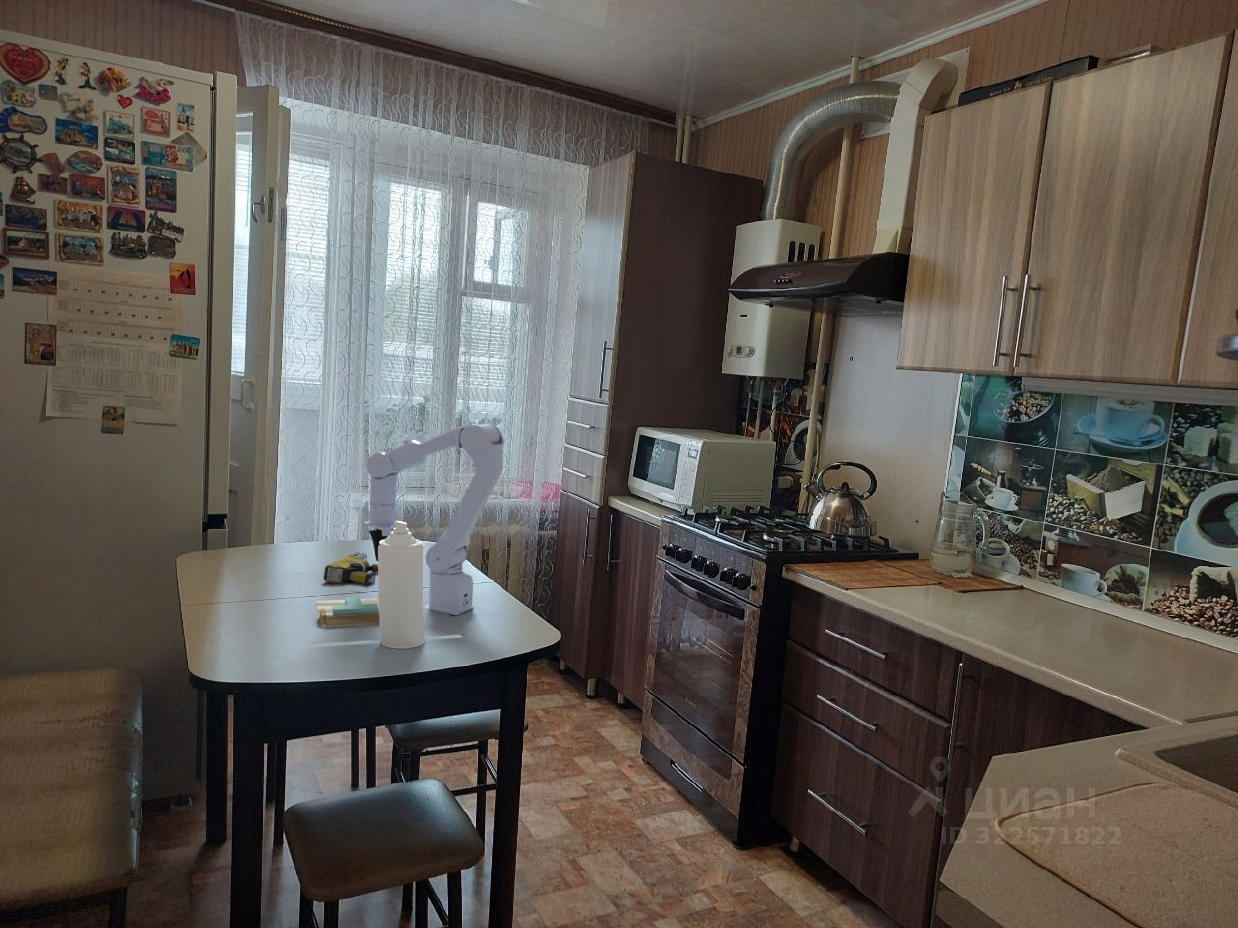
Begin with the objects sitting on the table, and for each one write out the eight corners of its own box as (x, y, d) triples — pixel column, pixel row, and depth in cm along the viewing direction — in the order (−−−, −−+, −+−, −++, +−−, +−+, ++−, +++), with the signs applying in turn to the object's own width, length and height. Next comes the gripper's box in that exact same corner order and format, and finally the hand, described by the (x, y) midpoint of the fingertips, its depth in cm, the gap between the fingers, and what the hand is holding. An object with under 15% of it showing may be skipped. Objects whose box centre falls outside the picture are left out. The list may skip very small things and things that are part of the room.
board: (315, 603, 186) (316, 592, 186) (379, 600, 192) (379, 589, 191) (321, 629, 168) (321, 617, 168) (391, 625, 173) (391, 613, 173)
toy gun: (408, 558, 226) (354, 549, 226) (383, 573, 202) (323, 564, 202) (405, 574, 226) (352, 566, 226) (380, 592, 202) (320, 583, 202)
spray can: (436, 649, 160) (441, 524, 158) (382, 656, 154) (387, 526, 152) (416, 632, 170) (421, 514, 167) (365, 638, 164) (369, 515, 161)
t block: (378, 621, 174) (378, 607, 174) (333, 623, 170) (333, 609, 170) (373, 609, 182) (373, 596, 182) (330, 611, 178) (330, 598, 178)
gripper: (361, 498, 195) (359, 554, 196) (369, 508, 182) (367, 568, 183) (391, 498, 198) (389, 553, 199) (401, 508, 185) (399, 567, 186)
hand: (381, 560), depth 192 cm, fingers closed
